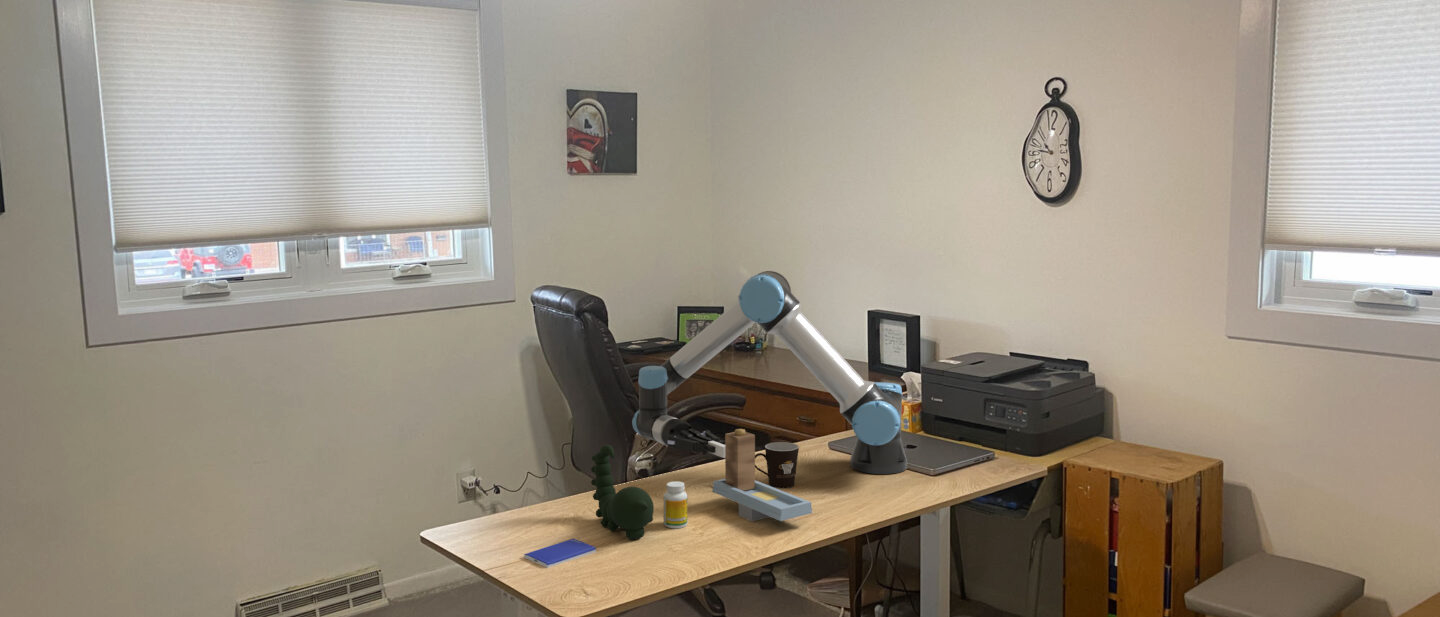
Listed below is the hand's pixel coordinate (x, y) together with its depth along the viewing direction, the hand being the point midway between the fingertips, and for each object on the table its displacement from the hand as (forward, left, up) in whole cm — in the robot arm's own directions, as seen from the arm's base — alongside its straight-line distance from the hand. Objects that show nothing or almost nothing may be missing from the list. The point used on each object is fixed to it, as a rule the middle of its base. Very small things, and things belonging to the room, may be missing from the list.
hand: (725, 452), depth 249 cm
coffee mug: (-14, -11, -12) cm, 22 cm away
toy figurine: (+25, +19, -12) cm, 34 cm away
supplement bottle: (+13, +17, -12) cm, 25 cm away
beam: (-7, +12, -12) cm, 18 cm away
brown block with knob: (-3, +5, -7) cm, 9 cm away
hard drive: (+38, +33, -13) cm, 52 cm away
